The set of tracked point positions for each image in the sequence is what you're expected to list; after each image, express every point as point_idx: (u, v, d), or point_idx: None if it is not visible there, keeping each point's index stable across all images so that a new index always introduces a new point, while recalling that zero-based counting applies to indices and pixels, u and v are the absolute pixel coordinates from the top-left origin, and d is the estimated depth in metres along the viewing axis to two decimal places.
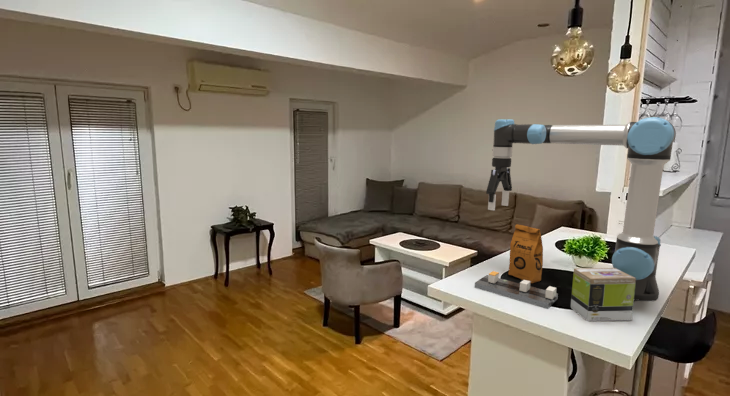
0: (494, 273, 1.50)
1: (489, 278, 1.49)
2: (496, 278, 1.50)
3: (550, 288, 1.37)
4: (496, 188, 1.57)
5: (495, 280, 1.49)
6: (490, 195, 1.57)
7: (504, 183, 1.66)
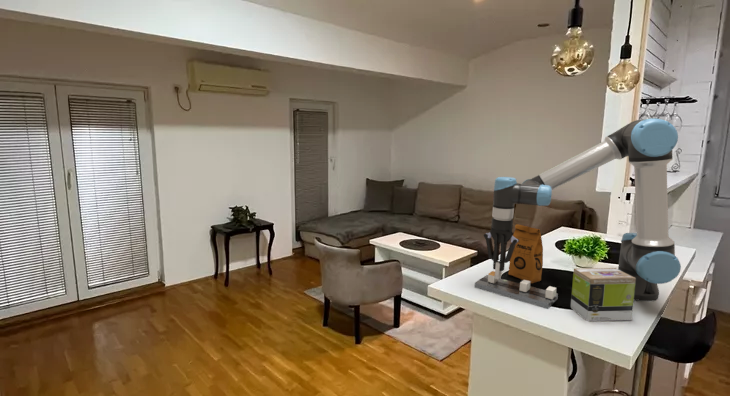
0: (494, 273, 1.50)
1: (489, 278, 1.50)
2: None
3: (550, 288, 1.37)
4: (495, 254, 1.47)
5: (495, 280, 1.49)
6: None
7: None
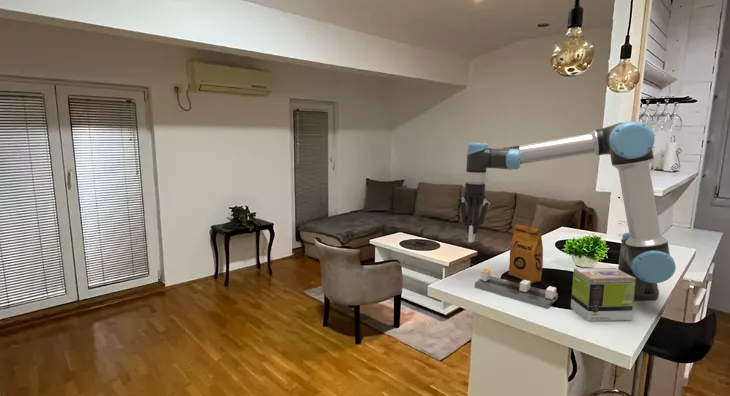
0: (486, 271, 1.52)
1: (481, 276, 1.51)
2: (488, 276, 1.52)
3: (550, 288, 1.37)
4: (468, 217, 1.53)
5: (487, 278, 1.51)
6: None
7: None
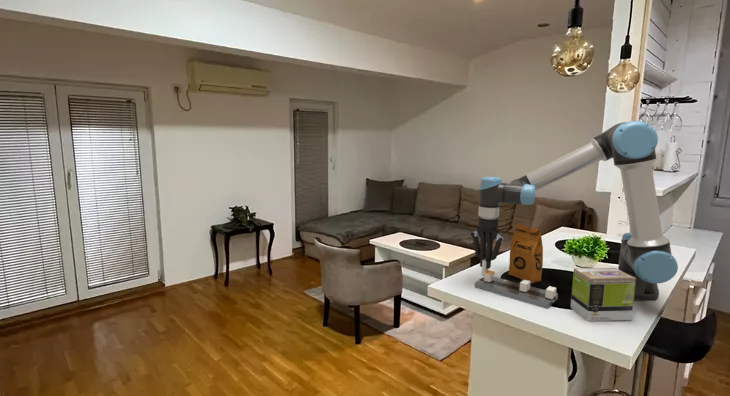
0: (490, 272, 1.51)
1: (485, 277, 1.51)
2: (492, 277, 1.51)
3: (550, 288, 1.37)
4: (481, 252, 1.51)
5: (491, 279, 1.50)
6: None
7: None
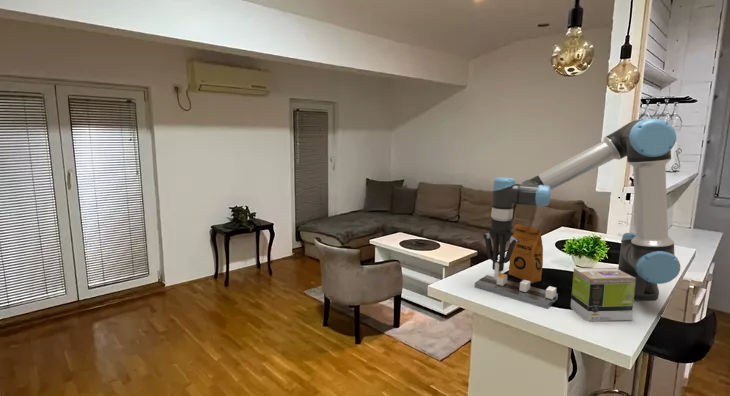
0: (503, 275, 1.48)
1: (498, 280, 1.47)
2: (505, 280, 1.47)
3: (550, 288, 1.37)
4: (494, 254, 1.48)
5: (504, 282, 1.47)
6: None
7: None
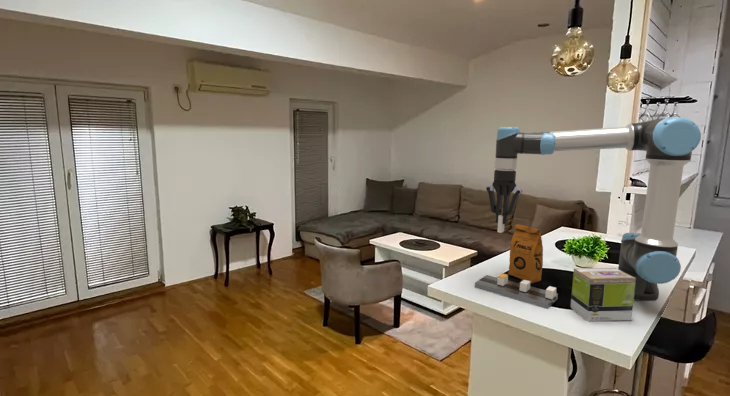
0: (503, 275, 1.47)
1: (498, 280, 1.47)
2: (505, 280, 1.47)
3: (550, 288, 1.37)
4: (498, 206, 1.44)
5: (504, 282, 1.47)
6: None
7: None
